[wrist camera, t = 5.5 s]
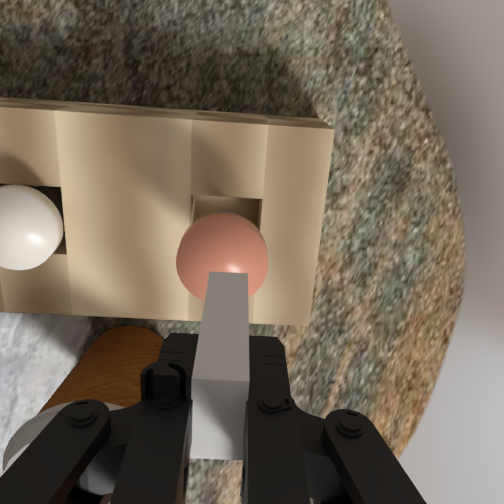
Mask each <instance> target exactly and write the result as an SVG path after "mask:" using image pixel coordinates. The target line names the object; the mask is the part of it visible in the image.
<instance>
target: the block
mask: <svg viewBox="0 0 504 504" xmlns="http://www.w3.org/2000/svg"><path fill="white" fill-rule="evenodd" d="M334 131H335V129H334V128H332V127H331V126H329V125H328V124H327V123H325V122H324V121H323V120H321V119H320V118H308V117H294V116H279V115H264V114H249V113H235V112H220V111H205V110H191V109H176V108H161V107H146V106H132V105H117V104H102V103H87V102H73V101H58V100H43V99H29V98H14V97H0V187H2V186H5V185H24V186H28V187H31V188H33V189H34V188H36V187H38V186H51V187H54V188H56V189H57V190H59V191H60V192H61V193H62V204H63V215H64V218H63V219H62V222H63V237H62V240H61V243H60V245H59V246H58V248H57V249H56V250H55V251H54V252H53V253H52V254H51V256H50V257H49V258H48V259H47V260H46V261H45V262H43V263H42V264H40V265H39V266H37V267H34V268H31V269H27V270H11V269H7V268H4V267H1V266H0V312H10V313H32V314H54V315H76V316H99V317H121V318H143V319H165V320H187V321H201V320H202V314H203V308H204V302H205V301H202V300H200V299H198V298H197V297H195V296H194V295H192V294H191V293H190V292H189V291H188V290H187V289H186V288H185V287H184V285H183V284H182V282H181V280H180V278H179V276H178V273H177V268H176V256H177V251H178V248H179V245H180V242H181V239H182V236H183V235H184V233H185V231H186V230H187V229H188V227H189V226H190V225H191V224H192V223H194V222H195V221H196V220H198V219H199V218H201V217H203V216H206V215H208V214H212V213H214V212H216V211H218V210H223V209H226V210H232V211H234V212H236V213H237V214H239V215H240V216H242V217H244V218H246V219H248V220H249V221H250V222H252V223H253V224H254V225H255V226H256V227H257V228H258V229H259V231H260V232H261V234H262V235H263V238H264V240H265V243H266V247H267V254H268V272H267V275H266V278H265V280H264V282H263V284H262V285H261V287H260V288H259V289H258V290H257V291H256V292H255V293H254V294H253V295H252V296H250V297H249V298H248V306H249V323H254V324H276V325H298V326H309V320H310V312H311V305H312V297H313V290H314V282H315V275H316V267H317V259H318V252H319V244H320V237H321V229H322V222H323V214H324V207H325V199H326V191H327V184H328V176H329V169H330V161H331V154H332V146H333V138H334Z"/></svg>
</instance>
